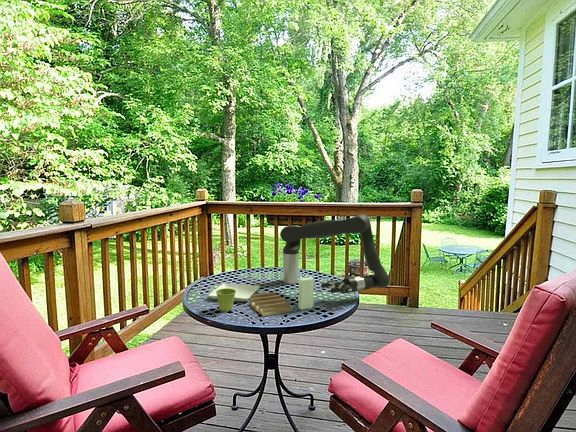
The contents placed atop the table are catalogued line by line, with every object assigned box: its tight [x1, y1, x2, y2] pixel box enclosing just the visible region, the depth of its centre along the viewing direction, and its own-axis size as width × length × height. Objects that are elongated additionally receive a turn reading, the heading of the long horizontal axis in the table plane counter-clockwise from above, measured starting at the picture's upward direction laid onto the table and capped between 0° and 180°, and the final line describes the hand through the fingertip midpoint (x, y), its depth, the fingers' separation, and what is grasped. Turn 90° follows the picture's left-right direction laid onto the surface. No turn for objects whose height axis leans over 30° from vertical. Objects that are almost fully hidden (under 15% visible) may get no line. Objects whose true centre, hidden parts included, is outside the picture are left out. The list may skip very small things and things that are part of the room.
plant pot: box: [216, 288, 236, 312], centre depth 176 cm, size 9×9×9 cm
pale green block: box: [297, 276, 315, 310], centre depth 179 cm, size 3×6×14 cm, turn 116°
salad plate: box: [208, 282, 260, 302], centre depth 196 cm, size 21×21×3 cm
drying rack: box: [249, 291, 292, 317], centre depth 179 cm, size 17×14×4 cm
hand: (326, 288), depth 184 cm, fingers open, 8 cm apart
